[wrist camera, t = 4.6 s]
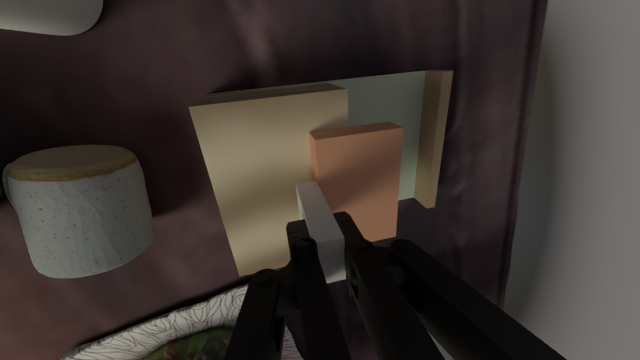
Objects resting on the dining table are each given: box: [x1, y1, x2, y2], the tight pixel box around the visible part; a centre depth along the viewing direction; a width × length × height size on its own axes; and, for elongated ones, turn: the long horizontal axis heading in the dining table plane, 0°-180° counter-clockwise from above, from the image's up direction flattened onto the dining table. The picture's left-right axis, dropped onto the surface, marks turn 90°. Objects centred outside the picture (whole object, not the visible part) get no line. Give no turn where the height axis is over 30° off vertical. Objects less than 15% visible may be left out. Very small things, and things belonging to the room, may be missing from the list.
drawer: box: [323, 70, 453, 208], centre depth 26 cm, size 14×11×3 cm
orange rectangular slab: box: [309, 121, 403, 242], centre depth 19 cm, size 9×6×2 cm, turn 4°
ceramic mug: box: [2, 145, 155, 278], centre depth 19 cm, size 11×8×8 cm
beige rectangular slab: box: [189, 82, 349, 276], centre depth 22 cm, size 14×10×7 cm
